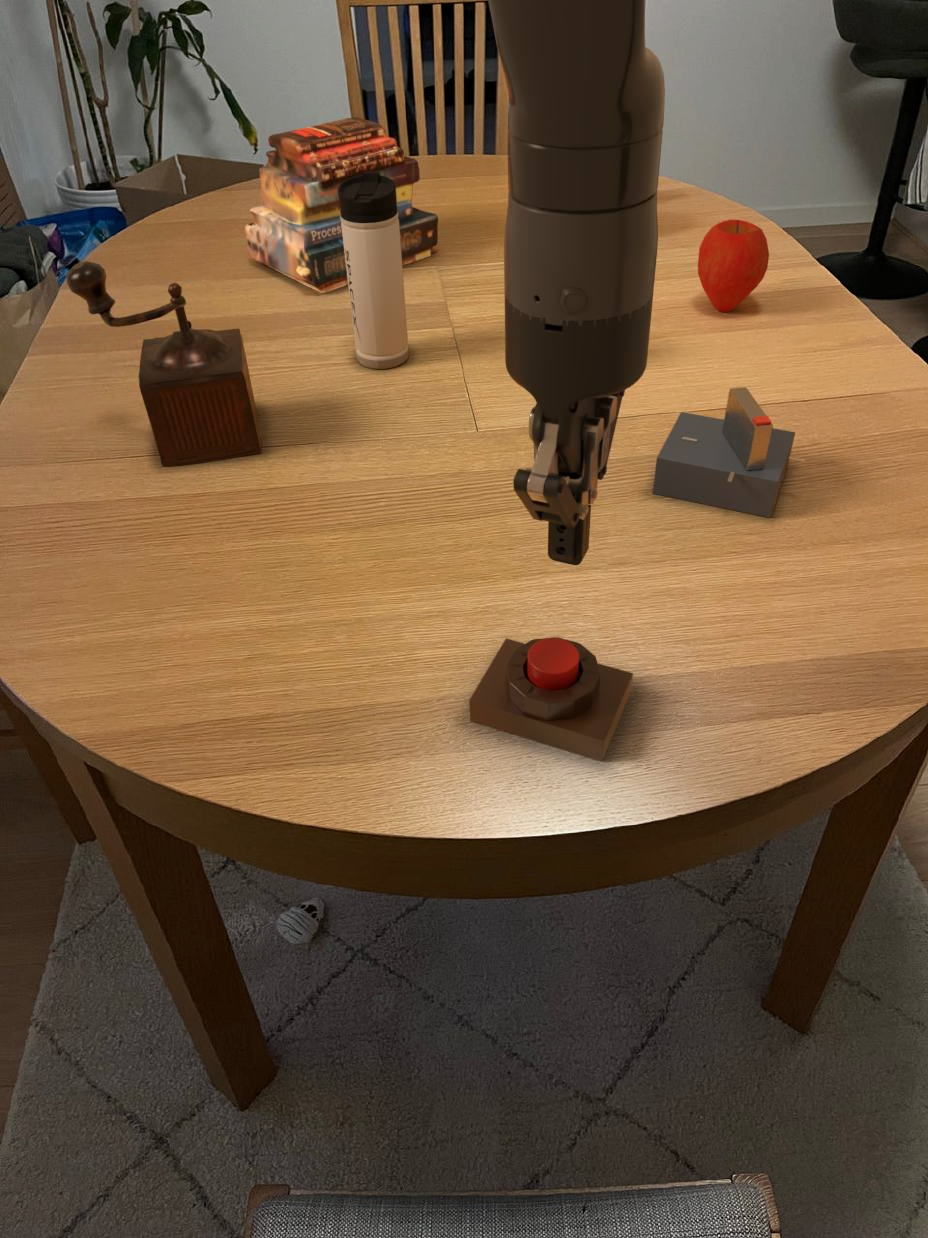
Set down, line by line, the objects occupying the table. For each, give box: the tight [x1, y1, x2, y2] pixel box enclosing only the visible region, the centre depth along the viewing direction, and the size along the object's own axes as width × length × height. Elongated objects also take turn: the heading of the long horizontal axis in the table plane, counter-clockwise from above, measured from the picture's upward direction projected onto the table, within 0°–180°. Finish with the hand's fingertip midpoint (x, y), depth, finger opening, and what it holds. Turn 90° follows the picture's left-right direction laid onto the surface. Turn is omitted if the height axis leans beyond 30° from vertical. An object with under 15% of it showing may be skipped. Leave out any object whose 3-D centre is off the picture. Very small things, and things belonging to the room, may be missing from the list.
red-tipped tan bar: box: [722, 386, 774, 470], centre depth 84 cm, size 7×2×5 cm, turn 6°
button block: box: [468, 636, 634, 762], centre depth 67 cm, size 10×7×4 cm
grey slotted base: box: [652, 411, 806, 519], centre depth 88 cm, size 13×11×4 cm
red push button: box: [527, 637, 579, 691], centre depth 65 cm, size 4×4×2 cm
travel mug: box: [338, 172, 410, 370], centre depth 105 cm, size 6×7×20 cm
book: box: [244, 116, 439, 294], centre depth 130 cm, size 23×18×17 cm
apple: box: [697, 219, 770, 313], centre depth 115 cm, size 9×8×11 cm
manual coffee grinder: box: [65, 260, 263, 467], centre depth 93 cm, size 16×11×18 cm
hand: (567, 556), depth 58 cm, fingers closed
